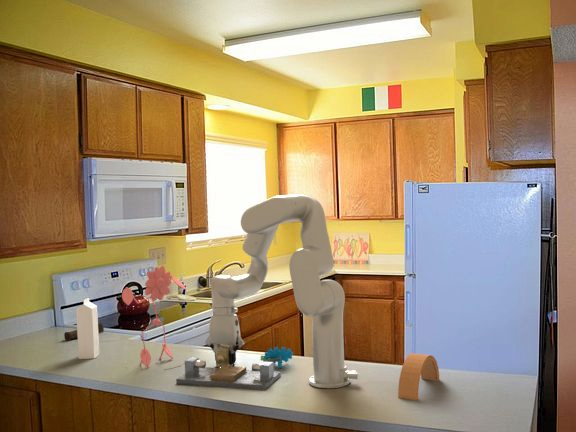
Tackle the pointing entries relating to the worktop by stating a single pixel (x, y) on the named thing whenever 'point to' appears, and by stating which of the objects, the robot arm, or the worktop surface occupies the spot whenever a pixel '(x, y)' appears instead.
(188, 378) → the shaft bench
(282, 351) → the gear
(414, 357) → the arch
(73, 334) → the hand tool
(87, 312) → the milk
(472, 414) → the worktop surface
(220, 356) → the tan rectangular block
